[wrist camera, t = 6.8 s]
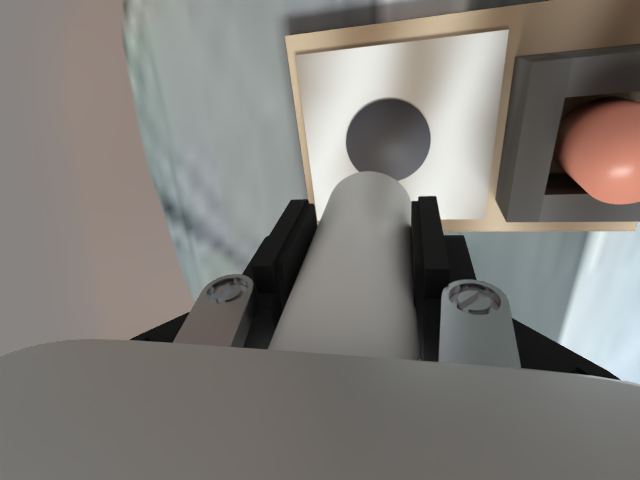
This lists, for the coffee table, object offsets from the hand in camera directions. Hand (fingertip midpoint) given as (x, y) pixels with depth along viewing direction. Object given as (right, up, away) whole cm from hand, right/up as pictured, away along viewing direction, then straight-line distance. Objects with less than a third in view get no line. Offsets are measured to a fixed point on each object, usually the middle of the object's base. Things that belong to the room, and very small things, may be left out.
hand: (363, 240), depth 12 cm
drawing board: (+7, +6, +10) cm, 14 cm away
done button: (+13, +5, +6) cm, 15 cm away
